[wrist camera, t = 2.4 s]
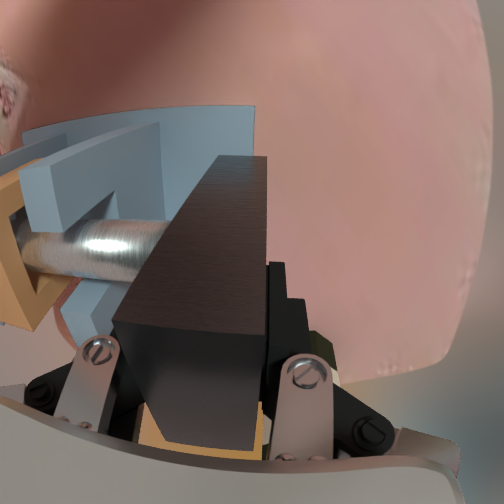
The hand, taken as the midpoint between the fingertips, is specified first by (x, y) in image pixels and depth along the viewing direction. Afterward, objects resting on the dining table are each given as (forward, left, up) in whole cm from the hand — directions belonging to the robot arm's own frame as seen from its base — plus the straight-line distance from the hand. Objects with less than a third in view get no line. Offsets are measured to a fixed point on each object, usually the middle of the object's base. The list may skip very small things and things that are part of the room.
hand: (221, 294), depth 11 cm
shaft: (0, -8, -10) cm, 12 cm away
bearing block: (0, -10, -14) cm, 18 cm away
